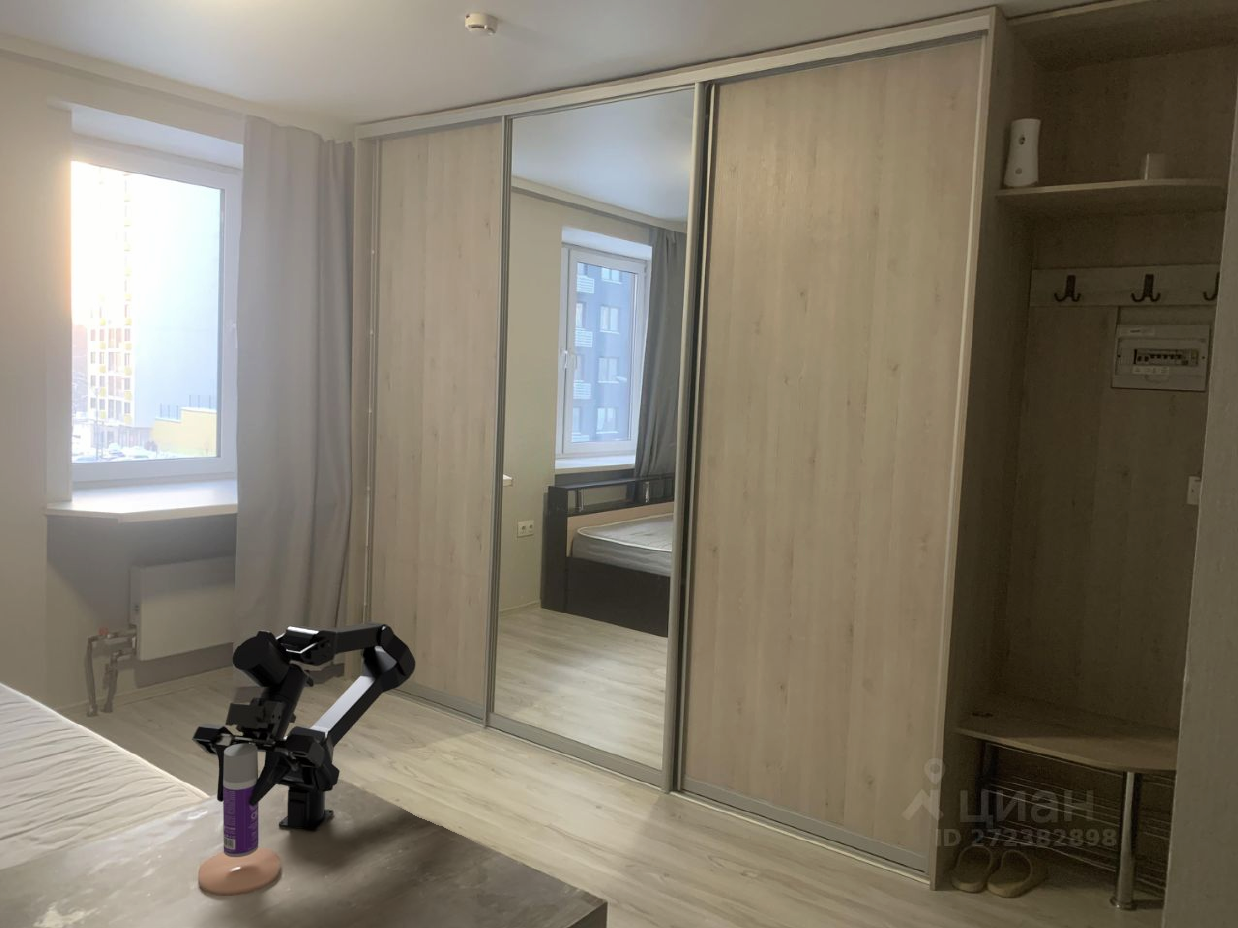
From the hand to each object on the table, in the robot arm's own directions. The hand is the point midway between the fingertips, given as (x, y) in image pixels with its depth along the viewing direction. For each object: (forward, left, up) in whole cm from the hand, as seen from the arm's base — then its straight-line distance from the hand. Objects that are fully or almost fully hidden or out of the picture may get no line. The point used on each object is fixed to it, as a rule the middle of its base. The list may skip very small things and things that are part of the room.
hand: (235, 802), depth 129 cm
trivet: (-1, 0, -11) cm, 11 cm away
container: (-1, 0, -8) cm, 8 cm away
